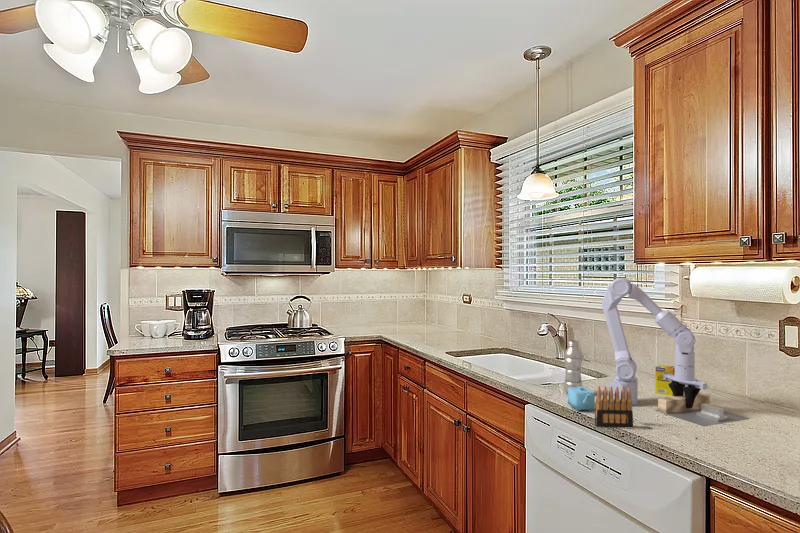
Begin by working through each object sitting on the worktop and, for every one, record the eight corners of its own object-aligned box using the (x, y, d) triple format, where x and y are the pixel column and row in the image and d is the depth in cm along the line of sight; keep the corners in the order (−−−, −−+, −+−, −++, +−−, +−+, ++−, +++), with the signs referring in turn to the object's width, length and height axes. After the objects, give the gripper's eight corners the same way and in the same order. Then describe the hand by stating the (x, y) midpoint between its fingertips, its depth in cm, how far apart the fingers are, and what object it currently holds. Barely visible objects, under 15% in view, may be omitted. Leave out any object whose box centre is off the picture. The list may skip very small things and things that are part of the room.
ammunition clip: (630, 425, 146) (631, 385, 146) (633, 427, 144) (633, 387, 144) (594, 424, 147) (594, 385, 147) (596, 426, 145) (596, 386, 145)
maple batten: (666, 413, 155) (666, 401, 155) (658, 411, 158) (658, 398, 158) (709, 407, 162) (709, 395, 162) (701, 405, 165) (701, 393, 165)
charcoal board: (703, 429, 143) (703, 426, 143) (654, 413, 158) (654, 410, 158) (751, 421, 150) (751, 418, 150) (699, 406, 166) (699, 404, 166)
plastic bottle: (584, 396, 178) (584, 342, 179) (564, 395, 180) (565, 341, 180) (581, 392, 185) (581, 340, 185) (562, 391, 186) (562, 339, 186)
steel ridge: (718, 421, 147) (718, 410, 147) (696, 415, 154) (696, 404, 154) (727, 420, 149) (728, 408, 149) (706, 413, 155) (706, 402, 155)
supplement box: (673, 398, 176) (673, 368, 176) (654, 396, 180) (654, 366, 180) (675, 395, 181) (675, 366, 181) (657, 392, 185) (657, 364, 185)
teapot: (599, 415, 156) (599, 392, 156) (580, 415, 156) (580, 392, 156) (583, 404, 168) (583, 383, 168) (566, 404, 168) (566, 383, 168)
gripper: (714, 368, 155) (714, 411, 155) (673, 360, 168) (673, 399, 168) (698, 370, 152) (698, 413, 152) (658, 361, 166) (658, 401, 166)
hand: (684, 406), depth 160 cm, fingers closed on maple batten, 3 cm apart
